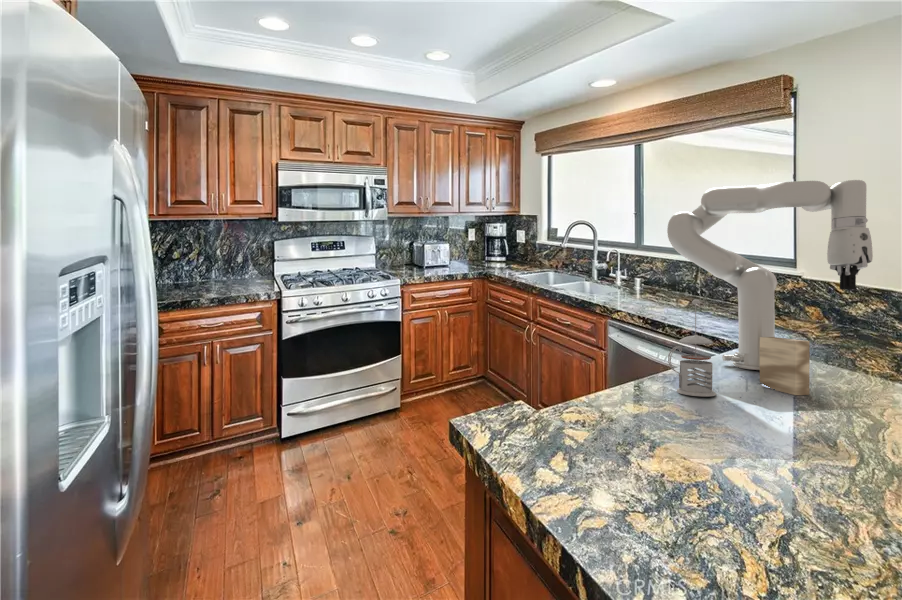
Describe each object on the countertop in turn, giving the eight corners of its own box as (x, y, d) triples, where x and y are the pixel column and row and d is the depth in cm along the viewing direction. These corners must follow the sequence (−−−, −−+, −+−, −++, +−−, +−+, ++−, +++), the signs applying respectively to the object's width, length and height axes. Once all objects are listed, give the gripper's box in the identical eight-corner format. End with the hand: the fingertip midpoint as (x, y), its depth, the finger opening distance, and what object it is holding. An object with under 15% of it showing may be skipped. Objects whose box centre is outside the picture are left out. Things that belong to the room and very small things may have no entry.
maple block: (795, 395, 119) (795, 341, 119) (759, 386, 131) (759, 337, 131) (809, 394, 120) (809, 341, 119) (772, 385, 131) (772, 336, 131)
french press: (722, 397, 117) (722, 299, 117) (673, 395, 120) (673, 299, 119) (709, 389, 127) (709, 299, 127) (664, 387, 129) (664, 299, 129)
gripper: (886, 220, 123) (886, 289, 124) (838, 228, 138) (837, 289, 138) (859, 220, 123) (859, 289, 123) (813, 228, 138) (813, 289, 138)
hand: (847, 289), depth 131 cm, fingers closed
